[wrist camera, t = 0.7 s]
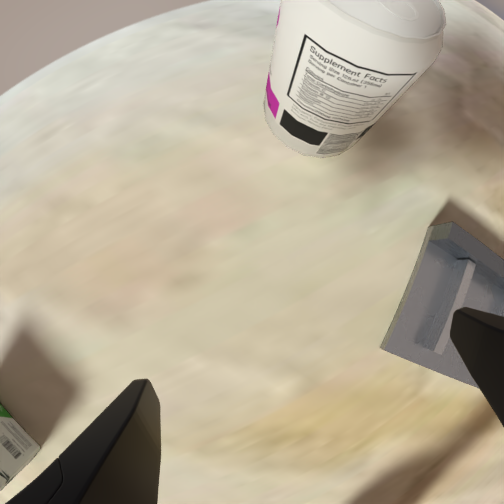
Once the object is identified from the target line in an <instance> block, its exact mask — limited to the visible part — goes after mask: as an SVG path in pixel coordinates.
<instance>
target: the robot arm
mask: <svg viewBox="0 0 504 504" xmlns="http://www.w3.org/2000/svg"><path fill="white" fill-rule="evenodd" d="M450 338H451V341H452V342H453V344H454V346H455V348H456V349H457V351H458V353H459V355H460V356H461V358H462V360H463V362H464V364H465V366H466V367H467V369H468V371H469V373H470V375H471V376H472V378H473V379H474V381H475V382H476V384H477V385H478V387H479V388H480V390H481V391H482V393H483V395H484V396H485V398H486V399H487V401H488V402H489V404H490V405H491V407H492V409H493V410H494V412H495V413H496V415H497V417H498V418H499V420H500V422H501V423H502V425H503V427H504V317H503V316H499V315H495V314H492V313H488V312H484V311H480V310H476V309H473V308H469V307H462V308H460V309H457V310H455V311H454V313H453V317H452V323H451V328H450ZM160 462H161V425H160V402H159V399H158V397H157V395H156V393H155V391H154V388H153V386H152V384H151V382H150V381H149V380H148V379H137V380H134V381H132V382H131V383H130V384H129V385H128V386H127V387H126V389H125V390H124V391H123V392H122V393H121V394H120V395H119V396H118V397H117V398H116V399H115V400H114V401H113V402H112V403H111V404H110V405H109V406H108V407H107V408H106V409H105V410H104V411H103V412H102V413H101V414H100V415H99V416H98V417H97V418H96V419H95V420H94V421H93V422H92V423H91V424H90V425H89V426H88V427H87V428H86V429H85V430H84V431H83V432H82V433H81V434H80V435H79V436H78V437H77V438H76V439H75V440H74V441H73V442H72V443H71V444H70V445H69V446H68V447H67V448H66V449H65V451H64V452H63V453H62V454H61V455H60V456H59V458H56V459H55V460H54V462H53V463H52V464H51V465H50V466H49V467H47V468H46V469H45V470H44V471H43V472H42V473H41V474H40V475H39V476H38V477H37V478H36V479H35V480H33V481H32V482H31V483H30V484H29V485H28V486H26V487H25V488H24V489H23V490H22V491H20V492H19V493H18V494H17V495H15V496H14V497H13V498H12V499H10V500H9V501H8V502H7V503H5V504H157V501H158V486H159V474H160Z"/></svg>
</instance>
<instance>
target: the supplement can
mask: <svg viewBox="0 0 504 504" xmlns="http://www.w3.org/2000/svg"><path fill="white" fill-rule="evenodd" d="M445 25H446V19H445V12H444V8H443V7H442V5H441V3H440V1H439V0H281V3H280V9H279V15H278V21H277V26H276V32H275V38H274V44H273V50H272V56H271V62H270V68H269V74H268V80H267V86H266V92H265V98H264V112H265V120H266V122H267V124H268V125H269V127H270V129H271V131H272V133H273V135H274V136H275V137H276V138H278V139H279V140H280V141H281V142H282V143H283V144H284V145H285V146H286V147H287V148H289V149H292V150H294V151H296V152H298V153H300V154H302V155H304V156H311V157H318V158H325V157H331V156H336V155H340V154H341V153H343V152H344V151H346V150H348V149H349V148H351V147H352V146H353V145H354V144H355V143H356V142H357V141H358V140H359V139H360V138H361V137H362V136H363V135H364V134H365V133H366V132H367V131H368V130H369V129H370V128H371V127H372V126H373V125H374V124H375V122H376V121H377V120H378V119H379V118H380V117H381V116H382V115H383V114H384V113H385V112H386V111H387V110H388V109H389V108H390V107H391V106H392V105H393V104H394V103H395V102H396V101H397V100H398V99H399V98H400V97H401V96H402V95H403V94H404V92H405V91H406V90H407V89H408V88H409V87H410V86H411V85H412V84H413V83H414V82H415V81H416V80H417V79H418V78H419V77H420V76H421V75H422V74H423V73H424V72H425V71H426V70H427V69H428V68H429V67H430V66H431V65H432V64H433V62H434V61H435V60H436V58H437V56H438V55H439V53H440V51H441V49H442V45H443V29H444V27H445Z"/></svg>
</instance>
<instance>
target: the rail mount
mask: <svg viewBox="0 0 504 504" xmlns="http://www.w3.org/2000/svg"><path fill="white" fill-rule="evenodd" d="M462 307H469V308H473V309H476V310H480V311H484V312H488V313H492V314H495V315H499V316H503V317H504V260H503V259H502V258H501V257H499V256H498V255H497V254H496V253H494V252H493V251H492V250H490V249H489V248H488V247H487V246H485V245H484V244H483V243H481V242H480V241H479V240H477V239H476V238H475V237H473V236H472V235H471V234H469V233H468V232H466V231H465V230H464V229H462V228H461V227H459V226H458V225H457V224H455V223H454V222H449V223H444V224H439V225H435V226H430V227H428V230H427V233H426V236H425V239H424V242H423V245H422V248H421V251H420V254H419V257H418V259H417V262H416V265H415V267H414V270H413V273H412V275H411V278H410V280H409V283H408V285H407V288H406V290H405V293H404V295H403V298H402V300H401V302H400V305H399V307H398V309H397V312H396V314H395V316H394V318H393V321H392V323H391V325H390V327H389V330H388V332H387V334H386V336H385V338H384V340H383V342H382V344H381V346H380V348H381V349H383V350H385V351H387V352H390V353H392V354H394V355H397V356H399V357H402V358H404V359H406V360H409V361H411V362H414V363H416V364H419V365H421V366H424V367H426V368H429V369H431V370H433V371H436V372H438V373H441V374H444V375H446V376H449V377H451V378H454V379H456V380H459V381H461V382H464V383H467V384H469V385H472V386H474V387H477V388H479V387H478V385H477V384H476V382H475V381H474V379H473V378H472V376H471V375H470V373H469V371H468V369H467V367H466V366H465V364H464V362H463V360H462V358H461V356H460V355H459V353H458V351H457V349H456V348H455V346H454V344H453V342H452V341H451V338H450V328H451V323H452V317H453V313H454V311H455V310H457V309H460V308H462Z"/></svg>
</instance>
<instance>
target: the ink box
mask: <svg viewBox="0 0 504 504" xmlns="http://www.w3.org/2000/svg"><path fill="white" fill-rule="evenodd" d="M39 450H40V446H39V445H38V444H37V443H36V442H35V441H34V440H33V439H32V438H31V437H30V436H29V435H28V434H27V433H26V432H25V431H24V429H23V428H22V427H21V426H20V425H19V424H18V423H17V422H16V421H15V420H14V419H13V418H12V417H11V415H10V414H9V413H8V412H7V411H6V410H5V409H4V407H3V406H2V405H1V404H0V491H1V490H2V489H3V488H4V487H5V486H6V485H7V484H8V483H9V482H10V481H11V480H12V479H13V478H14V477H15V476H16V475H17V474H18V473H19V472H20V471H21V470H22V469H23V468H24V467H25V466H26V465H27V464H28V463H29V462H30V461H31V460H32V459H33V458H34V456H35V455H36V454H37V452H38V451H39Z"/></svg>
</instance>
